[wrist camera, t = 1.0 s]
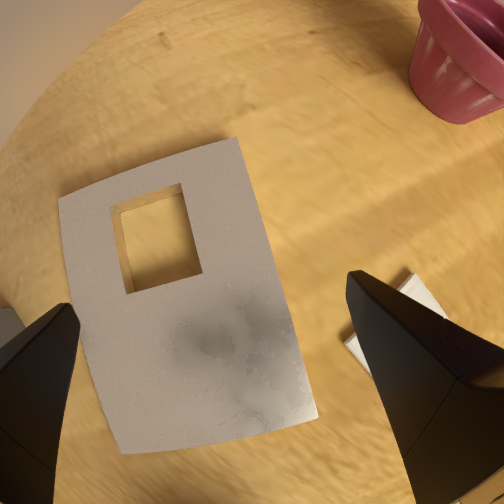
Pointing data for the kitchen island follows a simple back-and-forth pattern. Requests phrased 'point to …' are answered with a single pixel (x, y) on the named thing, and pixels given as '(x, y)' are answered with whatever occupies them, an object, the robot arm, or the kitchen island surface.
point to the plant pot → (459, 58)
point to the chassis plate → (185, 311)
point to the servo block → (9, 325)
